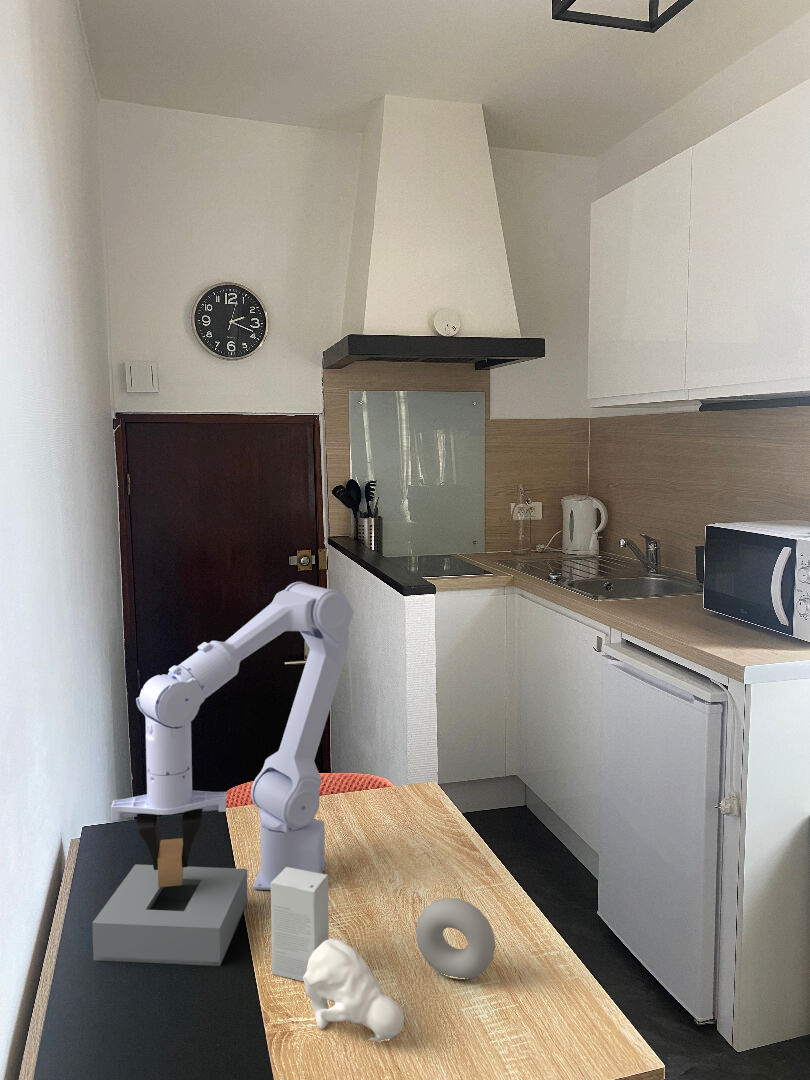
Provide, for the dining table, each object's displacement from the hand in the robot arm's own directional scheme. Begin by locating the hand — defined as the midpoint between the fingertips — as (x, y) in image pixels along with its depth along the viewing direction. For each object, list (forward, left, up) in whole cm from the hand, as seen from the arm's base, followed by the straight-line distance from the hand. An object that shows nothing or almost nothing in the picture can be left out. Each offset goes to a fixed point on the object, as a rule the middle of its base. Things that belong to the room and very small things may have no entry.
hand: (171, 864), depth 107 cm
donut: (-38, +8, -9) cm, 40 cm away
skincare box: (-19, +8, -9) cm, 22 cm away
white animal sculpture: (-27, +17, -9) cm, 33 cm away
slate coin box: (-1, +1, -8) cm, 9 cm away
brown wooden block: (0, 0, -2) cm, 2 cm away
